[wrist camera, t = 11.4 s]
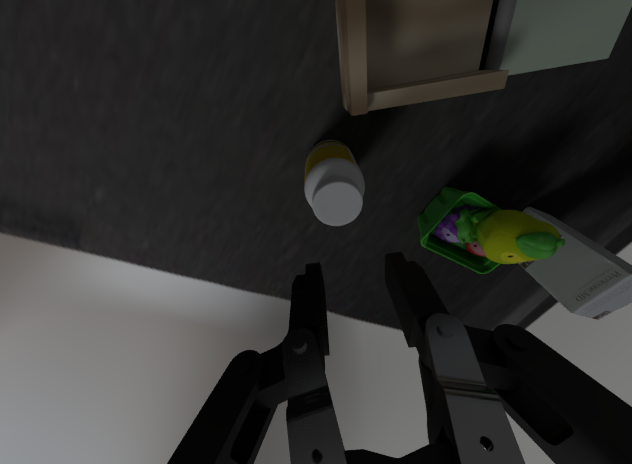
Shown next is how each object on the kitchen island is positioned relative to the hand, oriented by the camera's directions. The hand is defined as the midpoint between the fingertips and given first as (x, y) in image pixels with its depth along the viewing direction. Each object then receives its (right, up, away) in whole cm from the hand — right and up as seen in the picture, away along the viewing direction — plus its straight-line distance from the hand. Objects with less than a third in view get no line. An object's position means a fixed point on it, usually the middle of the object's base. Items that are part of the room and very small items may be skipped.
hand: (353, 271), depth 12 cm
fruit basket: (+17, +5, +18) cm, 25 cm away
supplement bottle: (0, +10, +14) cm, 17 cm away
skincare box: (+26, +3, +20) cm, 33 cm away
